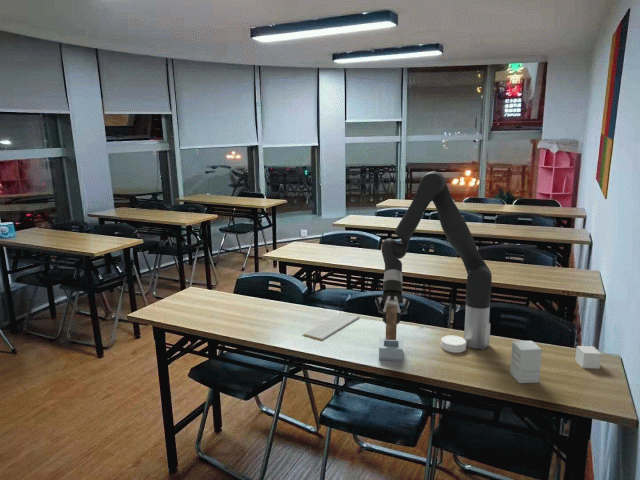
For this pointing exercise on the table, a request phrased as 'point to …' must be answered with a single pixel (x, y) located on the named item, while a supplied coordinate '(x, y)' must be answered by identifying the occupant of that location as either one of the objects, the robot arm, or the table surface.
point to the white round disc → (453, 343)
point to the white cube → (588, 357)
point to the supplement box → (525, 361)
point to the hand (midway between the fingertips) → (391, 322)
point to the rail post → (391, 319)
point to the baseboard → (331, 326)
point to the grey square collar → (391, 350)
